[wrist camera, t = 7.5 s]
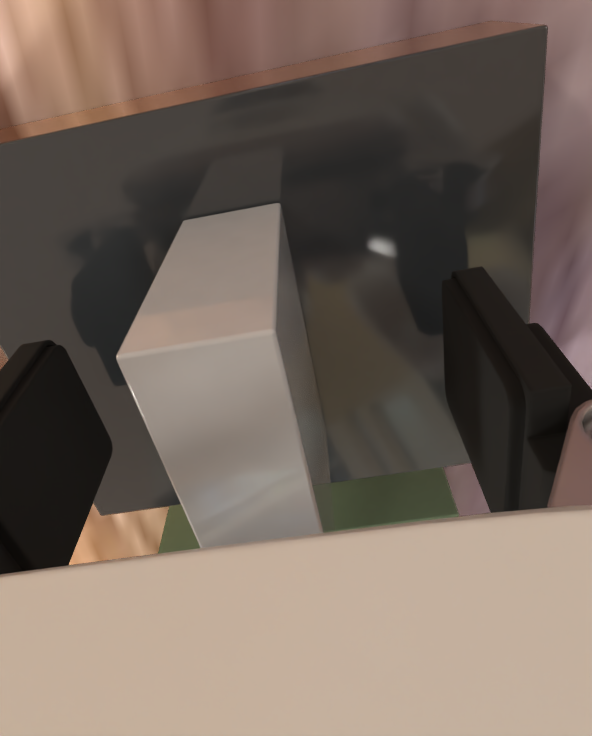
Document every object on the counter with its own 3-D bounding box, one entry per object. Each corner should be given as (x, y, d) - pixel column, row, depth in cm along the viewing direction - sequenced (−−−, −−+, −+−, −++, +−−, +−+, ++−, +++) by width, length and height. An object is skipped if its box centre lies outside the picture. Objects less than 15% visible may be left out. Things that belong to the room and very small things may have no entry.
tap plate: (492, 20, 11) (548, 24, 9) (487, 390, 17) (521, 456, 14) (-29, 135, 12) (-108, 167, 10) (126, 446, 18) (100, 517, 16)
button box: (442, 465, 19) (476, 563, 15) (450, 621, 24) (475, 718, 21) (169, 503, 20) (144, 605, 16) (236, 645, 25) (228, 742, 22)
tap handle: (181, 219, 11) (107, 368, 6) (280, 201, 10) (274, 340, 6) (250, 442, 14) (233, 640, 10) (326, 430, 14) (343, 627, 9)
